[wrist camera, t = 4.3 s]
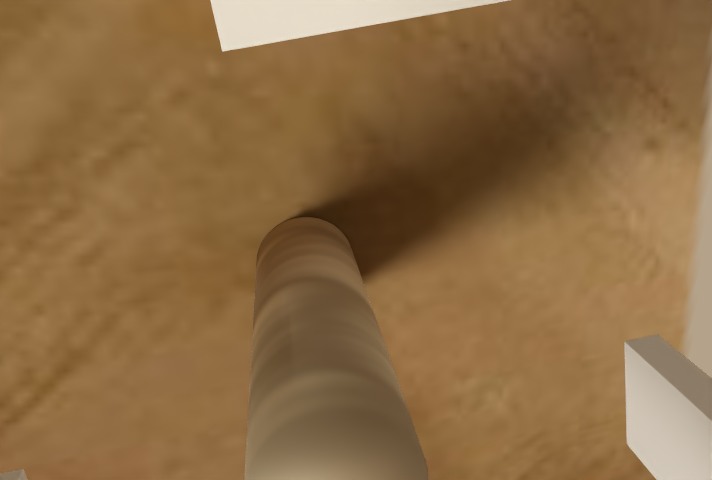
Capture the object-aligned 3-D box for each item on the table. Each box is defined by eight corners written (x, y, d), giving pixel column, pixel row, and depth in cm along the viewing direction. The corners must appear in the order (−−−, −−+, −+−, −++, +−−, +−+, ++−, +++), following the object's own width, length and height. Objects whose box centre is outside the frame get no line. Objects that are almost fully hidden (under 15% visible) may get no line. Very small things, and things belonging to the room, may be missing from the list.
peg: (268, 315, 24) (266, 578, 13) (246, 227, 23) (224, 433, 11) (360, 296, 24) (438, 538, 13) (344, 208, 23) (416, 392, 12)
